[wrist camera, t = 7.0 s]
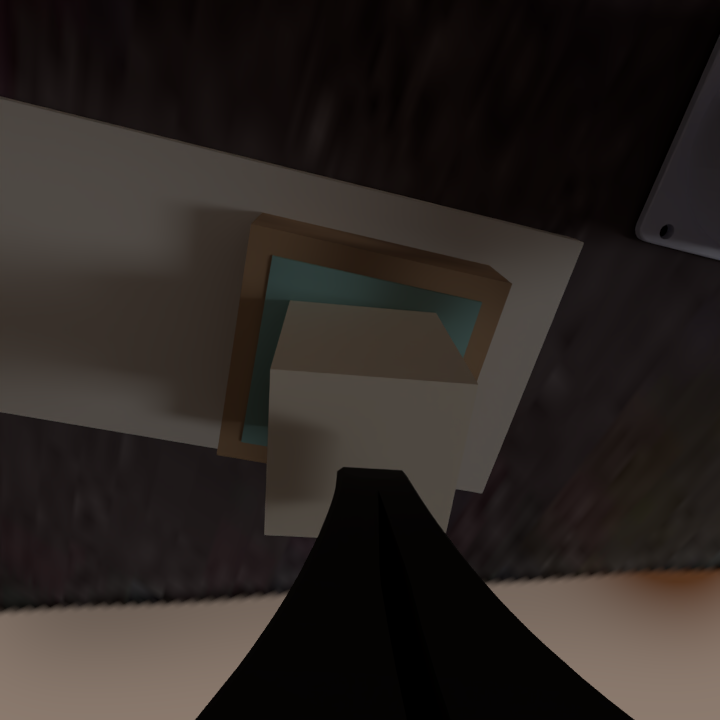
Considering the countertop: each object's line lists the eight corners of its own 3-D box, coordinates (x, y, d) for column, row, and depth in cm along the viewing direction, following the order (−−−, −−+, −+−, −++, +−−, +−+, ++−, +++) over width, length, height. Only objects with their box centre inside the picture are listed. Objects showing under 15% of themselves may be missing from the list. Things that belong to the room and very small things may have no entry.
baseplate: (571, 237, 18) (583, 242, 17) (476, 479, 23) (482, 493, 22) (-12, 93, 16) (-33, 90, 15) (2, 397, 20) (-14, 409, 19)
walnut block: (489, 265, 18) (513, 284, 15) (425, 452, 21) (437, 493, 18) (262, 212, 17) (250, 224, 14) (230, 418, 20) (216, 456, 17)
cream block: (436, 312, 15) (478, 384, 11) (414, 436, 17) (443, 543, 13) (289, 300, 15) (270, 369, 11) (283, 428, 17) (264, 534, 12)
